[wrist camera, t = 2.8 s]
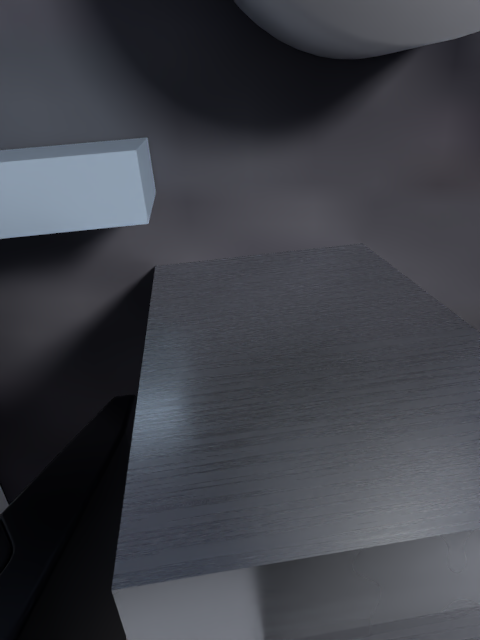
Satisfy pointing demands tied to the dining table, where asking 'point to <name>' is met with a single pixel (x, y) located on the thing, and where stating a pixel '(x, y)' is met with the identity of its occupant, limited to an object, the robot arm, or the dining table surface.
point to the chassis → (74, 190)
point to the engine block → (302, 456)
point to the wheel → (363, 24)
